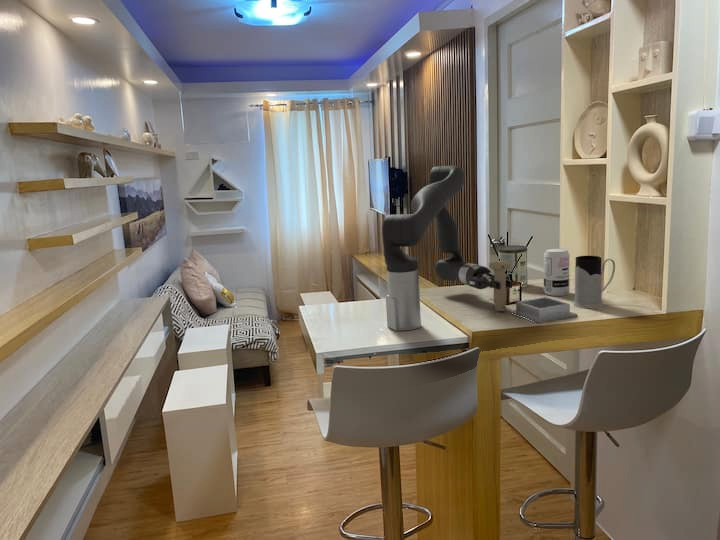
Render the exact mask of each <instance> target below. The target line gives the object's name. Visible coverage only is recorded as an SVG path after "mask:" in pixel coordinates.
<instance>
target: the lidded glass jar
mask: <svg viewBox="0 0 720 540" xmlns="http://www.w3.org/2000/svg"><path fill="white" fill-rule="evenodd" d="M524 249H525V250H524ZM497 251H498V260H499V259H500V261H507V262H510V267H509V268H508V269H507V274H511V272H512V270H513V268H514V266H515V264H516V262H517V261H518V259H519V257H520V256H521V254H522V256H521V257H520V259H519V261H518V263H517V264H516V266H515V268H514V270H513V272H512V279H513V280H514V281H519V282H523V284H522V288H526V287H528V285H529V284H528V246H525V245H518V244H517V245H503V246H499V247H498V248H497ZM523 251H524V252H523ZM522 288H521V289H522Z"/></svg>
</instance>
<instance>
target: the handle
mask: <svg viewBox="0 0 720 540" xmlns="http://www.w3.org/2000/svg"><path fill="white" fill-rule="evenodd" d="M509 267H510V262H507V261H499V260H498V261H491V262H489V263H488V268H489V269H490V270H493V273H494V281H497V282H500V283H501V289H499V290H497V289H494V288H493V303H494V310H495V311H497V312H504V311H506V309H507V306H506V305H507V299H508V297H507V296H508V295H507V294H508V292H507V288H506V275H505V272H506V269H508V268H509Z"/></svg>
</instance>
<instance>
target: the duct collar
mask: <svg viewBox="0 0 720 540" xmlns="http://www.w3.org/2000/svg"><path fill="white" fill-rule="evenodd" d="M515 307H516V309H513V310H509V311H508V313H509V312H510V313H513V314H516V315H519V316H522V317H525V318H527V319H529V320H532V321H534V322H533V323H535V322H536V323H535V324H537V323H538V325H540V324H544V323H550V322H555V321H559V320H566V319H570V318H575V317H578V313H576V312H575V313H574V312H572V311H571V304H570V303H567V302H564V301H561V300H558V299H554V298H551V297H548V296H543V297H537V298H531V299H526V300H525V299H524V300H520V301H516V302H515ZM510 313H509V314H510ZM513 314H512V315H513ZM516 315H515V316H516ZM519 316H518V317H519ZM527 319H526V320H527ZM529 320H528V321H529ZM532 321H531V322H532ZM539 323H540V324H539Z"/></svg>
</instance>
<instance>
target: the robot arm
mask: <svg viewBox="0 0 720 540" xmlns="http://www.w3.org/2000/svg"><path fill="white" fill-rule="evenodd" d="M429 172H430V173H429V176H428V180H429V181H428V182H429V184H427V185H426V186H424V187H421V188H420V189H419V191H418V192H417V193H416V194H415V195H414V196H413V197H412V199H411V203H410V206H411V207H410V208H411V212H412V213H408V214H407V213H406V214H405V213H404V214H403V213H401V214H398V213H397V214H387V215H386V216H385V217H384V218H383V220H382V224H381V225H382V226H381V235H382V236H381V237H382V244H383V253H384V256H383V257H384V262H385V264H386V277H387V282H386V283H387V295H385V306H386V307H385V308H386V323H387V324H386V326H387V327H388V328H390V329H391V330H394V331H395V332H398V331H413V330H417V329H419V328H421V327H422V318H421V299H420V298H421V295H420V275H419V274H420V273H419V272H420V271H419V260H418V259H417V258H416V257H414V256H411V255H410V254H408V253H406V252H404V251H403V250H402V248H401V247H403V248H405V247H408V248H409V247H410V248H411V247H414V246H417V245H418V244H419V243H420V242H421V240H422V239H423V237H424V236H425V234H426V232H427V230H428V228H429V226H430V225H431V224H432V222H433V220H434V219H436V221H435V222H436V228H437V242H438V243H437V244H438V250H439V252H441V253H444V254H449V255H450V257H447V258H443V259H439V260H438V261H436V263H435V265H434V272H435V275H436V277H438V278H439V279H441V280H443V281H449V282H450V281H451V282H453V281H454V282H456V281H457V282H459V283H462V284H464V285H467V286H469V287H472V288H475V289H476V290H477V289H478V290H484V289H487V288H488V289H493V290H494V289H497V290H499V289H501V283H500V282H497V281H494V272H492V271H491V269H490V268H489V267H487V266H483V265H480V264H476V263H469V262H466V261H464V258H463V255H462V253H461V252H462V251H461V250H460V244H459V243H460V241H459V230H458V225H457V223H456V221H455V219H454V218H453V216H452V215H451V213H450V212H449V210H448V209H447V206H446V204H448V202H450V200H451V199H452V198H453V197H455V196H456V195H457V194H459V193H460V192H461V190H462V188H463V186H464V183H465V173H464V171H463V168H461V167H460V166H458V165H440V166H439V165H438V166H433V167H432V168H431V170H430V171H429ZM505 275H506V287H508V288H507V289H513V288H512V281H511V280H510V277H509V276H508V275H507V274H505Z"/></svg>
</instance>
